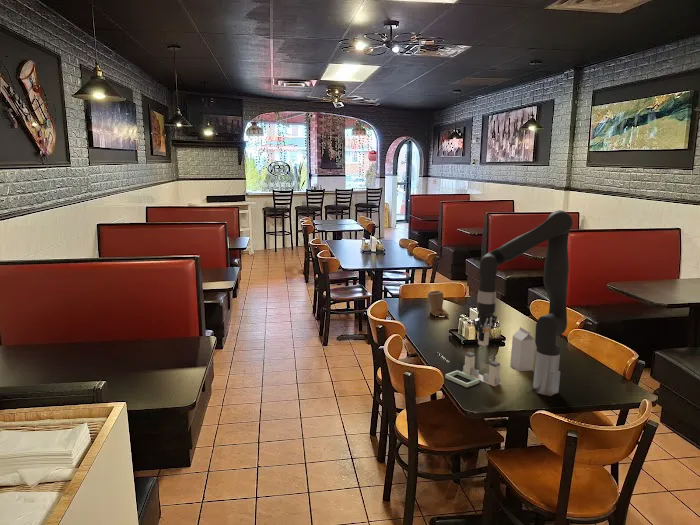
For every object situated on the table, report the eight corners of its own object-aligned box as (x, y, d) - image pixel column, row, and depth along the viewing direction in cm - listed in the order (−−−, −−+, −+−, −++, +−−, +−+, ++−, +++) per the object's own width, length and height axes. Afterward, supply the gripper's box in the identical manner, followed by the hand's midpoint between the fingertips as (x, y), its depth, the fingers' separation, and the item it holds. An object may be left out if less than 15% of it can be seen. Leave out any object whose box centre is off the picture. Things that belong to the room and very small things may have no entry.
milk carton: (518, 372, 233) (522, 332, 230) (509, 366, 240) (513, 327, 237) (532, 370, 235) (535, 331, 232) (523, 364, 242) (526, 326, 238)
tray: (478, 386, 218) (479, 379, 217) (466, 390, 213) (467, 384, 212) (457, 376, 227) (457, 370, 226) (444, 380, 222) (445, 374, 221)
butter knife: (439, 351, 256) (434, 352, 255) (467, 373, 230) (462, 374, 230) (439, 353, 256) (434, 353, 255) (467, 375, 231) (461, 375, 230)
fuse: (488, 344, 219) (489, 324, 218) (483, 346, 218) (485, 325, 216) (482, 342, 222) (484, 322, 220) (478, 344, 220) (479, 324, 218)
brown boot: (425, 311, 326) (426, 288, 323) (443, 311, 327) (445, 288, 324) (429, 318, 311) (431, 294, 309) (449, 318, 312) (450, 294, 309)
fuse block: (501, 386, 217) (503, 363, 215) (494, 389, 214) (496, 366, 212) (467, 372, 232) (469, 350, 230) (460, 375, 229) (461, 352, 226)
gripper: (483, 305, 209) (480, 345, 212) (504, 300, 217) (501, 339, 221) (468, 301, 215) (466, 340, 218) (489, 296, 223) (486, 334, 226)
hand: (483, 339), depth 219 cm, fingers closed on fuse, 3 cm apart
